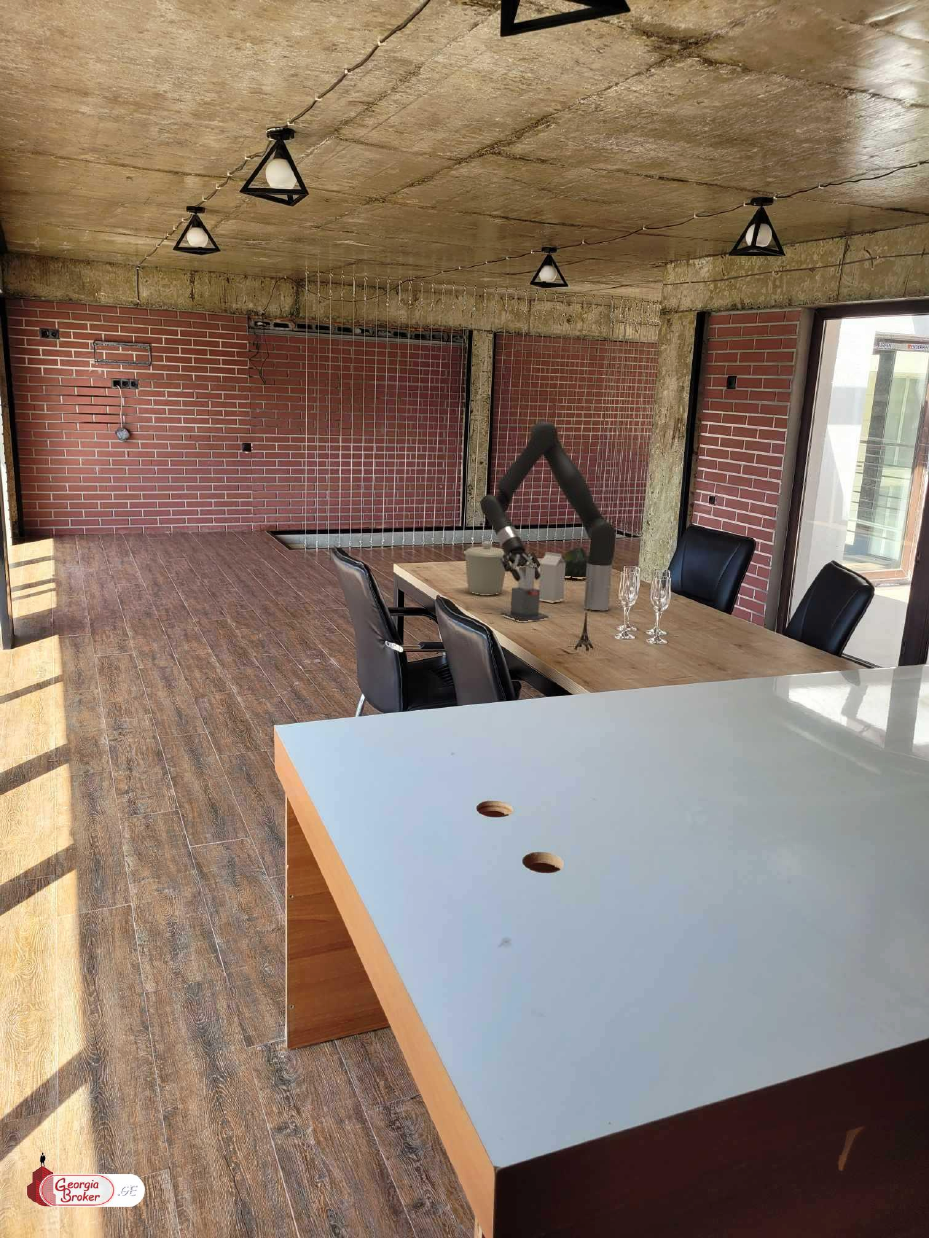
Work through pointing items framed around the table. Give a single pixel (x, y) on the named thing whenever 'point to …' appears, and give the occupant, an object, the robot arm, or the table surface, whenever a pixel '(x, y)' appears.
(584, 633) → the eiffel tower figurine
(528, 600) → the jack stand base
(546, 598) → the milk carton
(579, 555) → the squash
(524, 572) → the column
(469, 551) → the canister
